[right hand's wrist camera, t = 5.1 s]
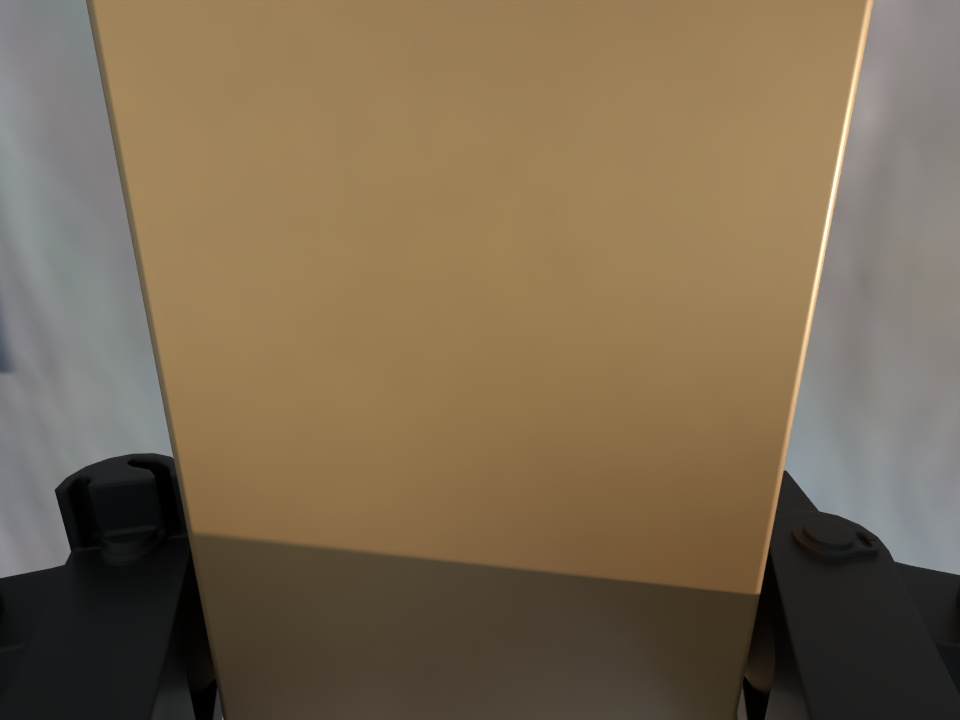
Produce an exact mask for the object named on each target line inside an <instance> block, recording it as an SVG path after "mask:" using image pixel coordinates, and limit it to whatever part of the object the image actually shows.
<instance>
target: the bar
mask: <svg viewBox="0 0 960 720" xmlns="http://www.w3.org/2000/svg"><path fill="white" fill-rule="evenodd" d="M86 3H87V8H88V13H89V19H90V24H91V29H92V34H93V39H94V45H95V50H96V55H97V60H98V66H99V71H100V76H101V81H102V86H103V92H104V97H105V102H106V107H107V113H108V118H109V123H110V128H111V134H112V139H113V144H114V149H115V154H116V160H117V165H118V170H119V175H120V181H121V186H122V191H123V196H124V202H125V207H126V212H127V217H128V222H129V228H130V233H131V238H132V243H133V249H134V254H135V259H136V264H137V269H138V275H139V280H140V285H141V290H142V296H143V301H144V306H145V311H146V317H147V322H148V327H149V332H150V337H151V343H152V348H153V353H154V358H155V364H156V369H157V374H158V379H159V385H160V390H161V395H162V400H163V405H164V411H165V416H166V421H167V426H168V432H169V437H170V442H171V447H172V452H173V458H174V463H175V468H176V473H177V479H178V484H179V489H180V494H181V500H182V505H183V510H184V515H185V520H186V526H187V531H188V536H189V541H190V547H191V552H192V557H193V562H194V567H195V573H196V578H197V583H198V588H199V594H200V599H201V604H202V609H203V615H204V620H205V625H206V630H207V635H208V641H209V646H210V651H211V656H212V662H213V667H214V672H215V677H216V683H217V688H218V693H219V698H220V703H221V709H222V714H223V719H224V720H736V717H737V712H738V706H739V701H740V696H741V691H742V686H743V680H744V675H745V670H746V665H747V659H748V654H749V649H750V644H751V638H752V633H753V628H754V623H755V617H756V612H757V607H758V602H759V597H760V591H761V586H762V581H763V576H764V570H765V565H766V560H767V555H768V549H769V544H770V539H771V534H772V529H773V523H774V518H775V513H776V508H777V502H778V497H779V492H780V487H781V481H782V476H783V471H784V466H785V461H786V455H787V450H788V445H789V440H790V434H791V429H792V424H793V419H794V413H795V408H796V403H797V398H798V393H799V387H800V382H801V377H802V372H803V366H804V361H805V356H806V351H807V345H808V340H809V335H810V330H811V324H812V319H813V314H814V309H815V304H816V298H817V293H818V288H819V283H820V277H821V272H822V267H823V262H824V256H825V251H826V246H827V241H828V236H829V230H830V225H831V220H832V215H833V209H834V204H835V199H836V194H837V188H838V183H839V178H840V173H841V168H842V162H843V157H844V152H845V147H846V141H847V136H848V131H849V126H850V120H851V115H852V110H853V105H854V100H855V94H856V89H857V84H858V79H859V73H860V68H861V63H862V58H863V52H864V47H865V42H866V37H867V31H868V26H869V21H870V16H871V11H872V5H873V0H86Z"/></svg>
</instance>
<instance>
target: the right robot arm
mask: <svg viewBox="0 0 960 720" xmlns="http://www.w3.org/2000/svg"><path fill="white" fill-rule="evenodd" d="M55 493H56V497H57V500H58V504H59V508H60V511H61V515H62V519H63V523H64V526H65V530H66V534H67V537H68V541H69V545H70V548H71V553H70V555H69V557H68V559H67V562H66V564H65V565H62V566H58V567H54V568H50V569H45V570H40V571H35V572H30V573H25V574H20V575H15V576H10V577H5V578H0V720H222V716H223V714H222V709H221V703H220V698H219V693H218V688H217V683H216V677H215V672H214V667H213V662H212V656H211V651H210V646H209V641H208V635H207V630H206V625H205V620H204V615H203V609H202V604H201V599H200V594H199V588H198V583H197V578H196V573H195V567H194V562H193V557H192V552H191V547H190V541H189V536H188V531H187V526H186V520H185V515H184V510H183V505H182V500H181V494H180V489H179V484H178V479H177V473H176V468H175V463H174V459H173V458H172V457H169V456H164V455H160V454H155V453H147V454H129V455H124V456H119V457H114V458H109V459H106V460H103V461H100V462H97V463H95V464H92V465H89V466H86V467H84V468H83V469H81V470H79V471H77V472H76V473H74V474H72V475H70V476H69V477H67V478H66V479H65V480H64V481H63V482H62V483H61V484H60V485H59V486H58V487H57V488H56V489H55ZM736 720H960V575H956V574H951V573H946V572H941V571H935V570H930V569H925V568H920V567H915V566H910V565H906V564H902V563H898V562H894V560H893V558H892V556H891V554H890V552H889V550H888V549H887V548H886V547H885V545H884V544H883V543H882V542H881V540H880V539H879V538H878V537H877V536H875V535H874V534H873V533H871V532H870V531H868V530H867V529H865V528H864V527H862V526H861V525H859V524H857V523H854V522H852V521H849V520H847V519H845V518H842V517H840V516H837V515H833V514H828V513H824V512H819V511H818V510H817V508H816V507H815V506H814V505H813V503H812V502H811V501H810V500H809V498H808V497H807V496H806V495H805V493H804V492H803V491H802V490H801V488H800V487H799V486H798V485H797V483H796V482H795V481H794V480H793V478H792V477H791V476H790V475H789V473H788V472H787V471H783V476H782V481H781V487H780V492H779V497H778V502H777V508H776V513H775V518H774V523H773V529H772V534H771V539H770V544H769V549H768V555H767V560H766V565H765V570H764V576H763V581H762V586H761V591H760V597H759V602H758V607H757V612H756V617H755V623H754V628H753V633H752V638H751V644H750V649H749V654H748V659H747V665H746V670H745V675H744V680H743V686H742V691H741V696H740V701H739V706H738V712H737V717H736Z"/></svg>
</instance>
